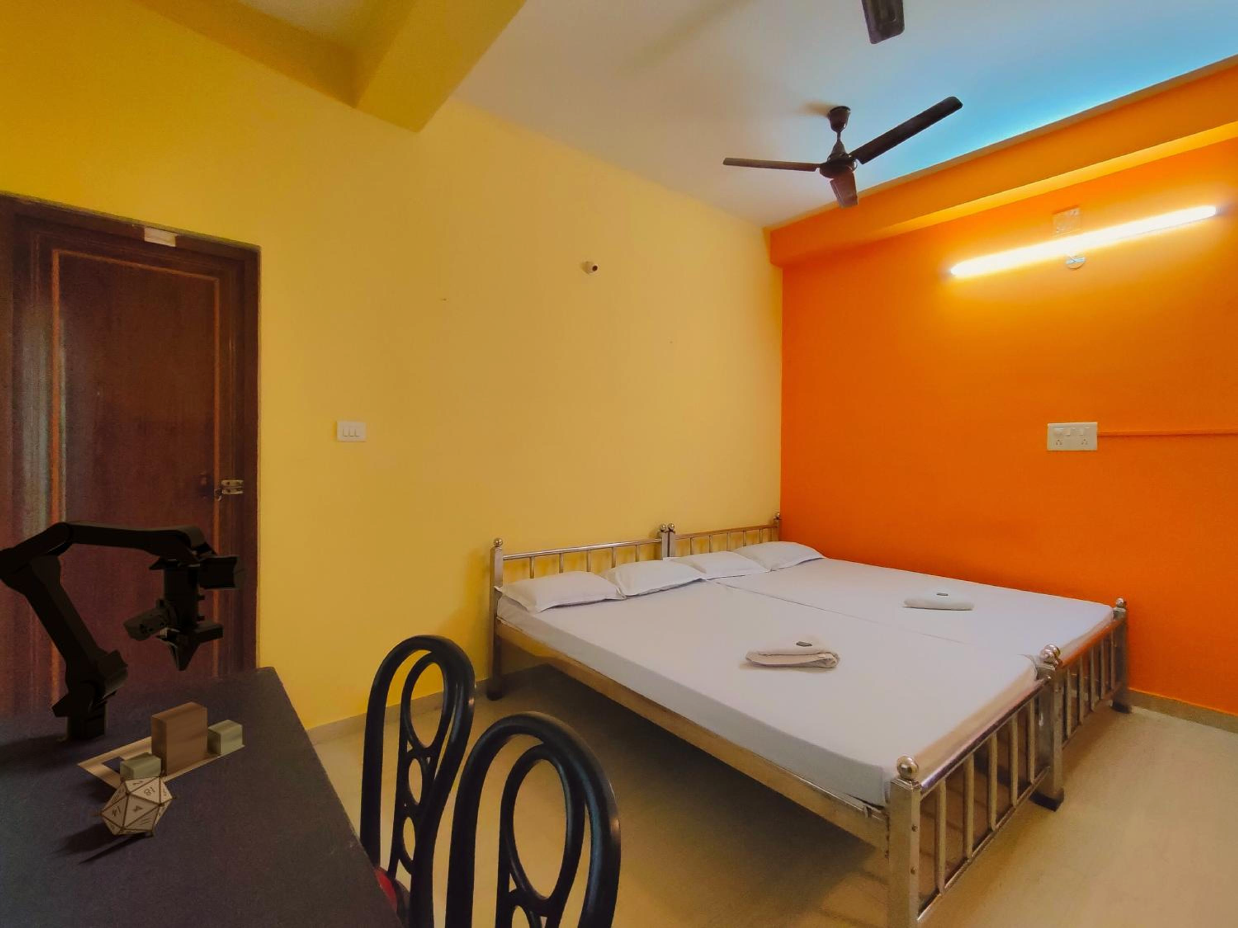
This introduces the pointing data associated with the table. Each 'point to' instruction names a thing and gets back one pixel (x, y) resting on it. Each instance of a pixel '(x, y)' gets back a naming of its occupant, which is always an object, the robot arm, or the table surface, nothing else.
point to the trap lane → (129, 754)
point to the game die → (136, 805)
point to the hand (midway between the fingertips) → (181, 670)
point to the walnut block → (179, 737)
